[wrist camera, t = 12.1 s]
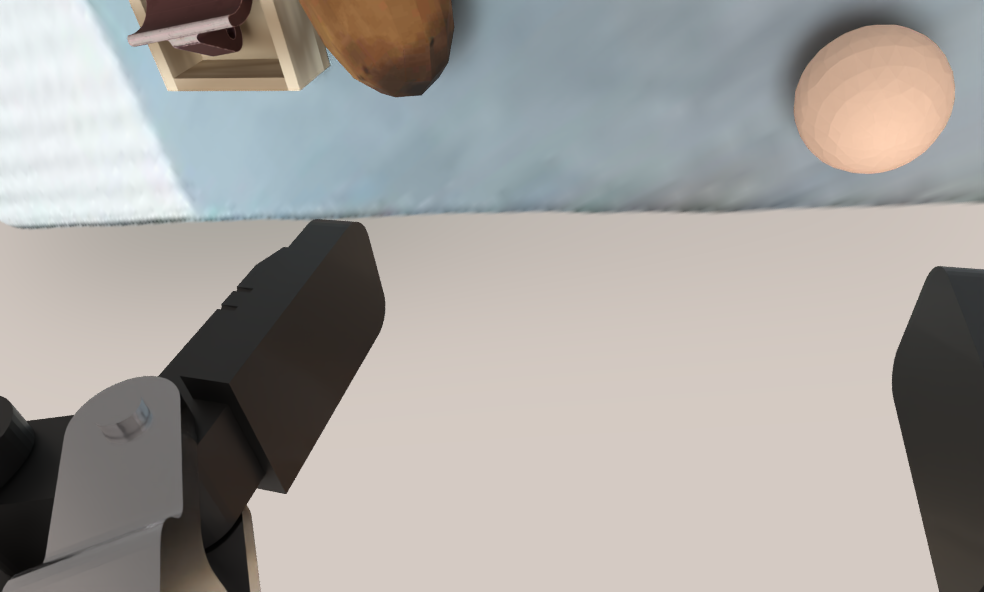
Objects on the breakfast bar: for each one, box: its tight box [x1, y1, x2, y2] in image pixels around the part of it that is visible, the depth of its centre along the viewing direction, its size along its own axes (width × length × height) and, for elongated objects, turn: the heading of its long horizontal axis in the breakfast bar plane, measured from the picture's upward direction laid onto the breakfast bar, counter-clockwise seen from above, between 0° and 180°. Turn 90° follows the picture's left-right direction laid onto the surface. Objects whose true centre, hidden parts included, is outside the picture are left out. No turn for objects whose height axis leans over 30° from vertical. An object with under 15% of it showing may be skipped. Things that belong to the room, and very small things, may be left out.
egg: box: [794, 25, 955, 174], centre depth 31 cm, size 7×7×8 cm
